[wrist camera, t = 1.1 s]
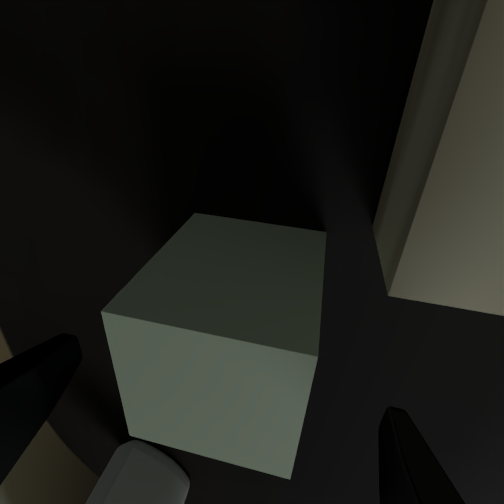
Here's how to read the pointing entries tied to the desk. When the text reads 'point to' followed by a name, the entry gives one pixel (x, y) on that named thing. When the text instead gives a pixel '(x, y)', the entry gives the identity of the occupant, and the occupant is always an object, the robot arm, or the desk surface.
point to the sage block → (222, 340)
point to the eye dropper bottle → (140, 478)
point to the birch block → (449, 166)
